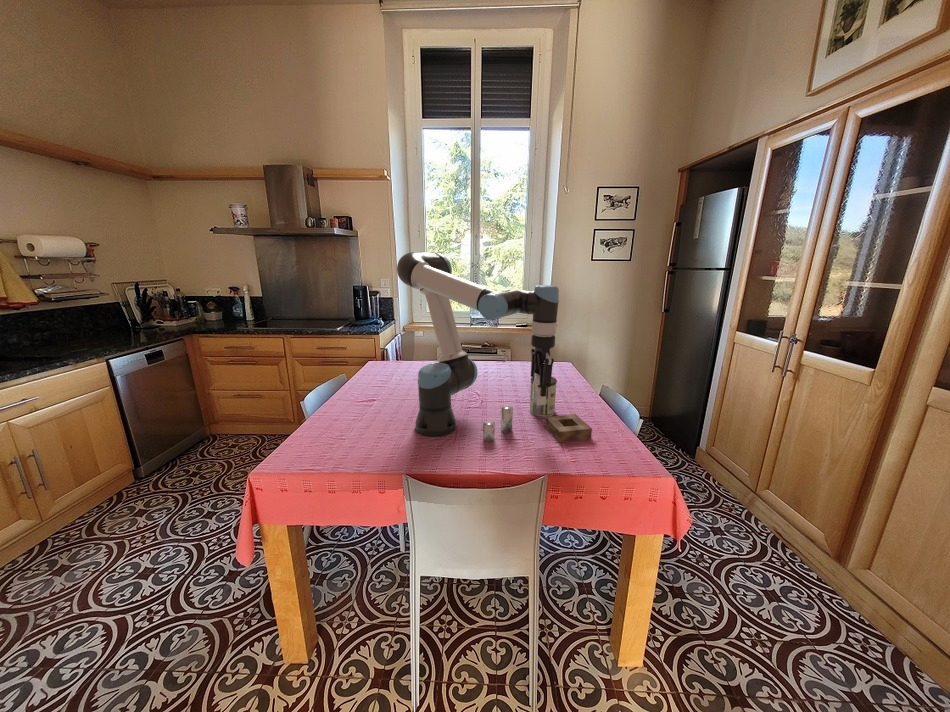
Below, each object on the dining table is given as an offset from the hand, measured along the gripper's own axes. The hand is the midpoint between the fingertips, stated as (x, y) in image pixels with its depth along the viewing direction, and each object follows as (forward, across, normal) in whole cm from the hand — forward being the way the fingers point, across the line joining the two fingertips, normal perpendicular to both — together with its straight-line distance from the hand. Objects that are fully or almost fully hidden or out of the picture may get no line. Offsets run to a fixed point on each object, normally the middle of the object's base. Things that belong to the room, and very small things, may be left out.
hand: (538, 401), depth 120 cm
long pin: (+4, 0, 0) cm, 4 cm away
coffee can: (+14, +20, -11) cm, 27 cm away
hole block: (+14, +1, -13) cm, 19 cm away
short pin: (+14, +2, +16) cm, 22 cm away
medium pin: (+14, +7, +8) cm, 18 cm away
